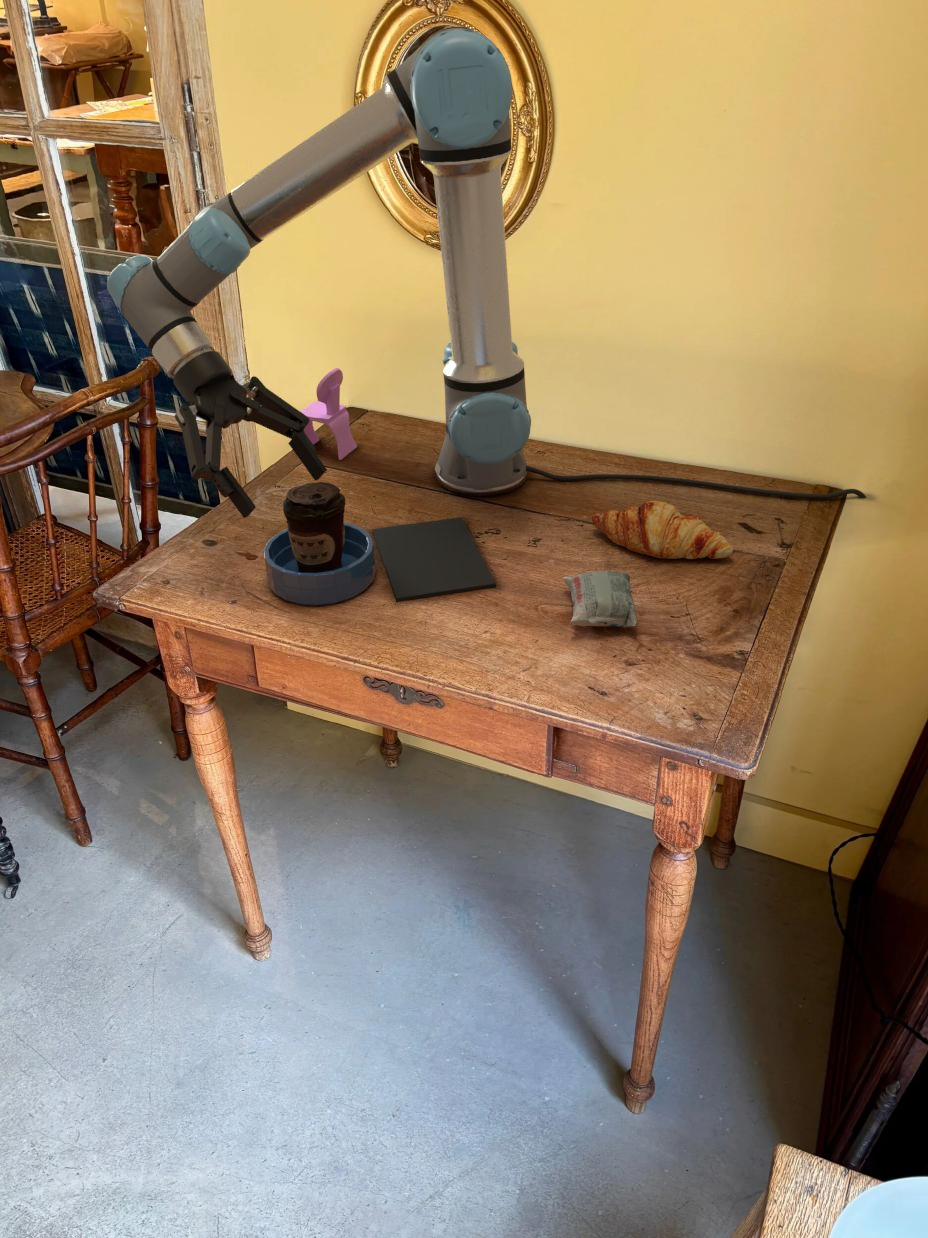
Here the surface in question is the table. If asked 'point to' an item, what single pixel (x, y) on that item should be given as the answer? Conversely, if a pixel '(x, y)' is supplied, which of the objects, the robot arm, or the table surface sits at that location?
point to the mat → (431, 559)
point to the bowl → (324, 584)
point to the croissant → (661, 532)
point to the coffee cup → (316, 526)
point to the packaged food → (602, 599)
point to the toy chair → (330, 413)
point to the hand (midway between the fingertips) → (287, 493)
